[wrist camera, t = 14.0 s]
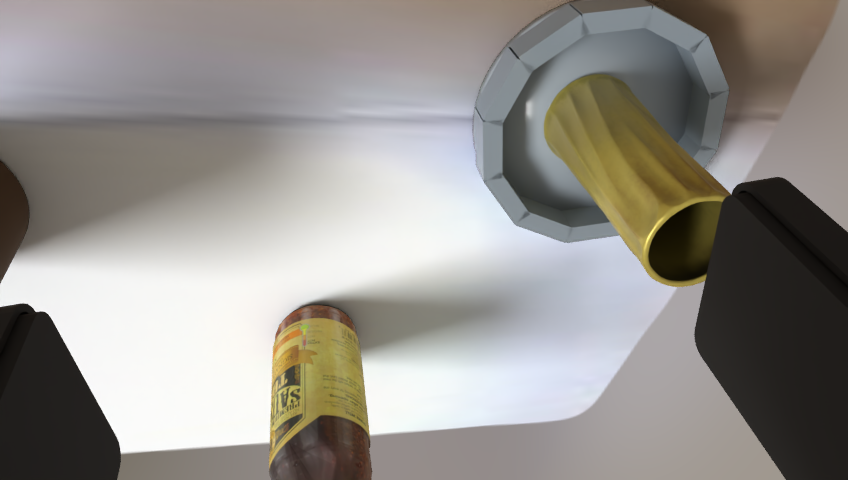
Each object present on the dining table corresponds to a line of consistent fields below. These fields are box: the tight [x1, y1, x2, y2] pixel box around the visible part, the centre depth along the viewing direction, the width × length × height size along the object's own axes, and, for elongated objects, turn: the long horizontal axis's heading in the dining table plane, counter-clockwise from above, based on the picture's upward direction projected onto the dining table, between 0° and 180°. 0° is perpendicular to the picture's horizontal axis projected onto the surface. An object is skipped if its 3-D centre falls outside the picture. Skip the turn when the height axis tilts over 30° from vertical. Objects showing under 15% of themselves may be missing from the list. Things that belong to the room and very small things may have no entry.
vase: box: [544, 74, 731, 287], centre depth 38 cm, size 6×6×14 cm
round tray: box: [473, 0, 729, 243], centre depth 44 cm, size 15×15×3 cm
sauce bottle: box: [269, 305, 372, 480], centre depth 43 cm, size 7×6×20 cm
